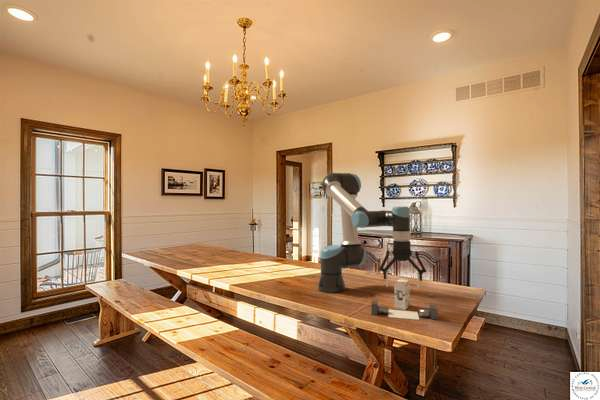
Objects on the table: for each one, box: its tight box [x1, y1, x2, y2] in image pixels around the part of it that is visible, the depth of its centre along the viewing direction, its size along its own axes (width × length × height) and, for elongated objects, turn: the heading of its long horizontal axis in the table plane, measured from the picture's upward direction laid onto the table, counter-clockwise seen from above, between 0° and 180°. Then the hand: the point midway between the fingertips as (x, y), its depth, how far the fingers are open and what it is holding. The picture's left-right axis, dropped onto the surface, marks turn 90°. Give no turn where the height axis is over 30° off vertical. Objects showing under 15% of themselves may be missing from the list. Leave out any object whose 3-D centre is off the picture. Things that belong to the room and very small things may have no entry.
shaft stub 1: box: [370, 299, 388, 316], centre depth 136 cm, size 6×5×4 cm
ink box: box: [393, 278, 411, 311], centre depth 144 cm, size 9×5×12 cm, turn 148°
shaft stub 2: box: [418, 304, 438, 321], centre depth 131 cm, size 6×5×4 cm
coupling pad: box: [388, 309, 420, 321], centre depth 134 cm, size 12×9×1 cm
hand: (402, 287), depth 143 cm, fingers open, 13 cm apart
